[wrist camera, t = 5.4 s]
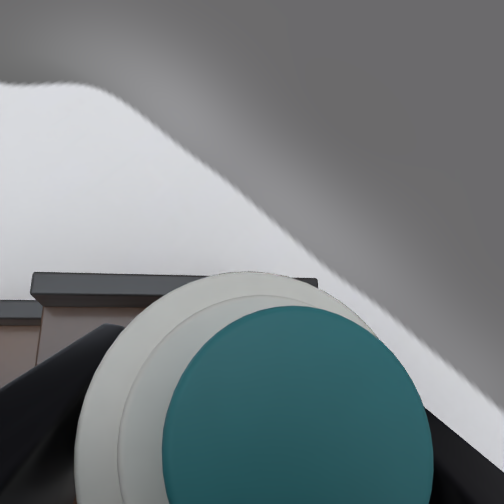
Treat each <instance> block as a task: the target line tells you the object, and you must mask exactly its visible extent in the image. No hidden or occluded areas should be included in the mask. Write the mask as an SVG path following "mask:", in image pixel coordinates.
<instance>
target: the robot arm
mask: <svg viewBox="0 0 504 504" xmlns="http://www.w3.org/2000/svg"><path fill="white" fill-rule="evenodd" d="M124 329H125V328H124V327H123V326H121V325H114V324H108V323H105V324H102V325H101V326H99V327H97V328H96V329H94V330H93V331H91V332H89V333H88V334H86V335H85V336H83V337H81V338H80V339H78V340H77V341H75V342H73V343H72V344H70V345H69V346H67V347H65V348H64V349H62V350H61V351H59V352H57V353H56V354H54V355H53V356H51V357H50V358H48V359H46V360H45V361H43V362H42V363H40V364H38V365H37V366H35V367H34V368H32V369H30V370H29V371H27V372H26V373H24V374H22V375H21V376H19V377H18V378H16V379H14V380H13V381H11V382H10V383H8V384H6V385H5V386H3V387H2V388H0V504H73V502H74V499H75V497H76V491H75V482H74V446H75V439H76V432H77V425H78V420H79V416H80V412H81V409H82V405H83V401H84V398H85V395H86V393H87V390H88V388H89V385H90V383H91V380H92V378H93V376H94V373H95V371H96V370H97V368H98V366H99V364H100V363H101V361H102V359H103V357H104V355H105V354H106V352H107V351H108V349H109V348H110V347H111V345H112V344H113V342H114V341H115V340H116V338H117V337H118V336H119V334H120V333H121V332H122V331H123V330H124ZM424 409H425V412H426V415H427V419H428V423H429V427H430V432H431V438H432V446H433V469H434V471H433V482H432V491H431V496H430V500H429V504H504V472H502V471H501V470H500V469H499V468H498V467H496V466H495V465H494V464H493V463H491V462H490V461H489V460H488V459H487V458H485V457H484V456H483V455H482V454H481V453H479V452H478V451H477V450H476V449H474V448H473V447H472V446H471V445H470V444H468V443H467V442H466V441H465V440H464V439H462V438H461V437H460V436H459V435H457V434H456V433H455V432H454V431H453V430H451V429H450V428H449V427H448V426H447V425H445V424H444V423H443V422H442V421H440V420H439V419H438V418H437V417H436V416H434V415H433V414H432V413H431V412H430V411H428V410H427V409H426V408H425V407H424Z"/></svg>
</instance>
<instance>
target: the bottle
mask: <svg viewBox="0 0 504 504" xmlns="http://www.w3.org/2000/svg"><path fill="white" fill-rule="evenodd" d="M433 471H434V469H433V446H432V438H431V432H430V427H429V423H428V419H427V415H426V412H425V409H424V406H423V403H422V401H421V398H420V396H419V394H418V392H417V390H416V387H415V385H414V383H413V381H412V380H411V378H410V376H409V375H408V373H407V372H406V370H405V368H404V367H403V366H402V364H401V363H400V362H399V360H398V359H397V358H396V357H395V355H394V354H393V353H392V352H391V351H390V350H389V349H388V348H387V347H386V346H385V345H384V344H383V343H382V342H381V341H380V340H379V339H378V337H377V336H376V335H375V334H374V332H373V331H372V330H371V329H370V328H369V327H368V326H367V325H366V324H365V322H364V321H363V320H362V319H361V318H360V317H359V316H358V315H357V314H355V313H354V312H353V311H352V310H350V309H349V308H348V307H347V306H346V305H344V304H343V303H342V302H340V301H339V300H337V299H336V298H334V297H332V296H331V295H329V294H328V293H326V292H325V291H322V290H320V289H318V288H316V287H314V286H312V285H310V284H308V283H305V282H302V281H299V280H296V279H293V278H290V277H287V276H282V275H277V274H272V273H264V272H250V271H248V272H229V273H224V274H218V275H213V276H208V277H205V278H202V279H199V280H196V281H193V282H190V283H188V284H186V285H183V286H181V287H179V288H177V289H175V290H173V291H171V292H169V293H168V294H166V295H164V296H163V297H161V298H160V299H158V300H156V301H155V302H153V303H152V304H151V305H150V306H148V307H147V308H146V309H145V310H144V311H142V312H141V313H140V314H139V315H137V316H136V317H135V318H134V319H133V320H132V321H131V322H130V324H129V325H128V326H127V327H126V328H125V329H124V330H123V331H122V332H121V333H120V334H119V336H118V337H117V338H116V340H115V341H114V342H113V344H112V345H111V347H110V348H109V349H108V351H107V352H106V354H105V355H104V357H103V359H102V361H101V363H100V364H99V366H98V368H97V370H96V371H95V373H94V376H93V378H92V380H91V383H90V385H89V388H88V390H87V393H86V395H85V398H84V401H83V405H82V409H81V412H80V416H79V420H78V425H77V432H76V439H75V446H74V482H75V491H76V500H77V504H429V500H430V496H431V491H432V482H433Z"/></svg>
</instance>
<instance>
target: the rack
mask: <svg viewBox="0 0 504 504" xmlns="http://www.w3.org/2000/svg"><path fill="white" fill-rule="evenodd" d="M205 277H208V276H192V275H147V274H103V273H58V272H34V273H33V276H32V283H31V290H30V294H31V295H32V296H33V297H34V298H35V299H36V300H0V388H2V387H3V386H5V385H6V384H8V383H10V382H11V381H13V380H14V379H16V378H18V377H19V376H21V375H22V374H24V373H26V372H27V371H29V370H30V369H32V368H34V367H35V366H37V365H38V364H40V363H42V362H43V361H45V360H46V359H48V358H50V357H51V356H53V355H54V354H56V353H57V352H59V351H61V350H62V349H64V348H65V347H67V346H69V345H70V344H72V343H73V342H75V341H77V340H78V339H80V338H81V337H83V336H85V335H86V334H88V333H89V332H91V331H93V330H94V329H96V328H97V327H99V326H101V325H102V324H105V323H108V324H114V325H121V326H123V327H124V328H126V327H127V326H128V325H129V324H130V322H131V321H132V320H133V319H134V318H135V317H136V316H137V315H139V314H140V313H141V312H142V311H144V310H145V309H146V308H147V307H148V306H150V305H151V304H152V303H153V302H155V301H156V300H158V299H160V298H161V297H163V296H164V295H166V294H168V293H169V292H171V291H173V290H175V289H177V288H179V287H181V286H183V285H186V284H188V283H190V282H193V281H196V280H199V279H202V278H205ZM293 279H296V280H299V281H302V282H305V283H308V284H310V285H312V286H314V287H316V288H318V280H317V279H316V278H293ZM73 504H77V500H76V497H75V499H74V502H73Z"/></svg>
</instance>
